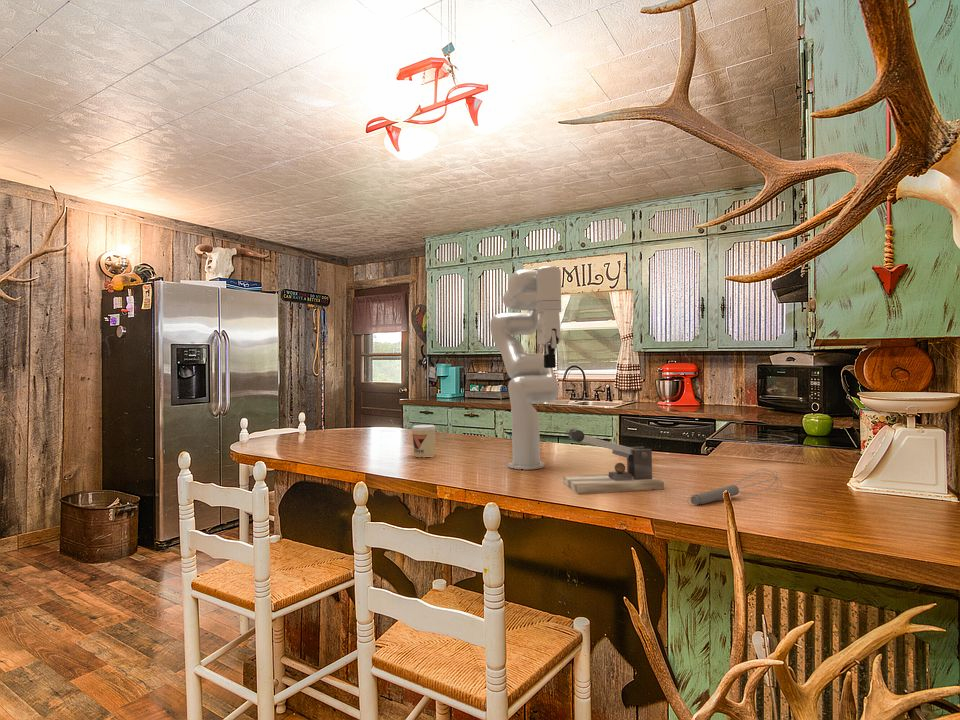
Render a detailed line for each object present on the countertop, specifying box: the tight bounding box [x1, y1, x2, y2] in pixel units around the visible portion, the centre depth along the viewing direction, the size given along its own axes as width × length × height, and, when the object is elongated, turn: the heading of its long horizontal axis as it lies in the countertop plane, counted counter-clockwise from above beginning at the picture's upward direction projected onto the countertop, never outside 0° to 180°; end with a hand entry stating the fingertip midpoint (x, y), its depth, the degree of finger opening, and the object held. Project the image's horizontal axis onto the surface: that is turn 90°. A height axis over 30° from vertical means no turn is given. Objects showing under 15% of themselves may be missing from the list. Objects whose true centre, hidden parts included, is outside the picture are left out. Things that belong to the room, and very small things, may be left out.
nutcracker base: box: [562, 446, 665, 495], centre depth 158 cm, size 14×25×10 cm, turn 98°
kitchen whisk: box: [687, 468, 783, 507], centre depth 142 cm, size 6×34×6 cm, turn 116°
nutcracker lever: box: [567, 428, 639, 459], centre depth 158 cm, size 5×23×4 cm, turn 98°
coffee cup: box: [411, 424, 437, 457], centre depth 214 cm, size 9×9×12 cm
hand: (549, 367), depth 166 cm, fingers closed
